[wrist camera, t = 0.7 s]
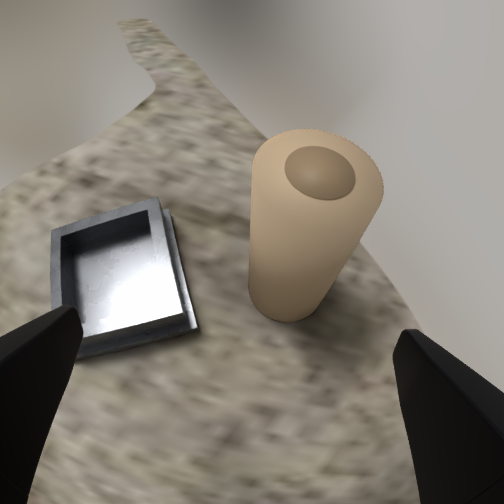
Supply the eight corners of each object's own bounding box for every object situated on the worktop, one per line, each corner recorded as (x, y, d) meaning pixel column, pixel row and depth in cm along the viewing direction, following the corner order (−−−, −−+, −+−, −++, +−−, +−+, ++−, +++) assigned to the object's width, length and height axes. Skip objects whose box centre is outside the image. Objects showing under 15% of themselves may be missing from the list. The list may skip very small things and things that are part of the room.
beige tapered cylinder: (334, 307, 24) (407, 209, 12) (262, 332, 23) (282, 244, 11) (306, 244, 27) (345, 121, 15) (238, 263, 26) (235, 138, 14)
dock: (199, 330, 23) (191, 317, 20) (72, 361, 21) (49, 351, 18) (170, 214, 28) (162, 190, 25) (64, 247, 26) (47, 227, 23)
